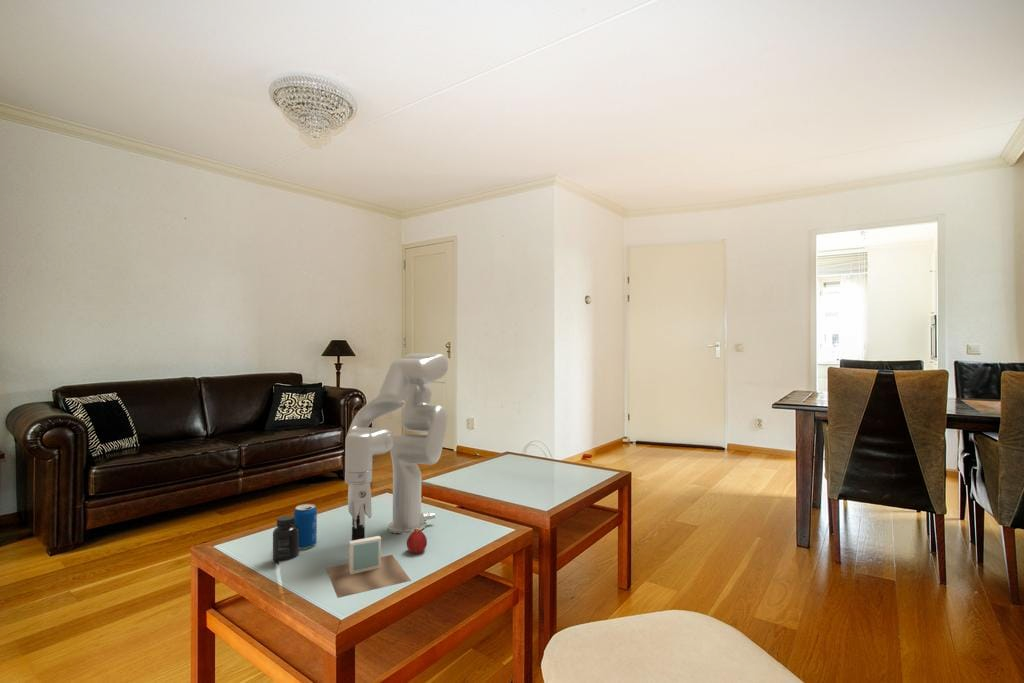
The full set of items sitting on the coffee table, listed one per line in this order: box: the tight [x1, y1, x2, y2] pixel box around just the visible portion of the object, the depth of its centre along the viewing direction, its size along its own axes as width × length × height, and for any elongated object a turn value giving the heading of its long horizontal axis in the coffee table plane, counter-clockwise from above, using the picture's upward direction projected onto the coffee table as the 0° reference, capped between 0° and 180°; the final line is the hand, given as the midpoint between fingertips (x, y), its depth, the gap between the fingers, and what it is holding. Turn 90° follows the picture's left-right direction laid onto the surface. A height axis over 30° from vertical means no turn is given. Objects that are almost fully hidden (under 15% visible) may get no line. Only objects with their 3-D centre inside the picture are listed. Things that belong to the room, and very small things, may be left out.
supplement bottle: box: [272, 515, 300, 565], centre depth 140 cm, size 7×7×12 cm
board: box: [325, 554, 412, 599], centre depth 128 cm, size 18×18×1 cm
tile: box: [348, 535, 382, 574], centre depth 131 cm, size 8×2×8 cm, turn 119°
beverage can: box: [293, 503, 318, 550], centre depth 150 cm, size 6×6×12 cm
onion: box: [406, 528, 428, 554], centre depth 143 cm, size 6×6×8 cm
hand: (358, 540), depth 139 cm, fingers closed
